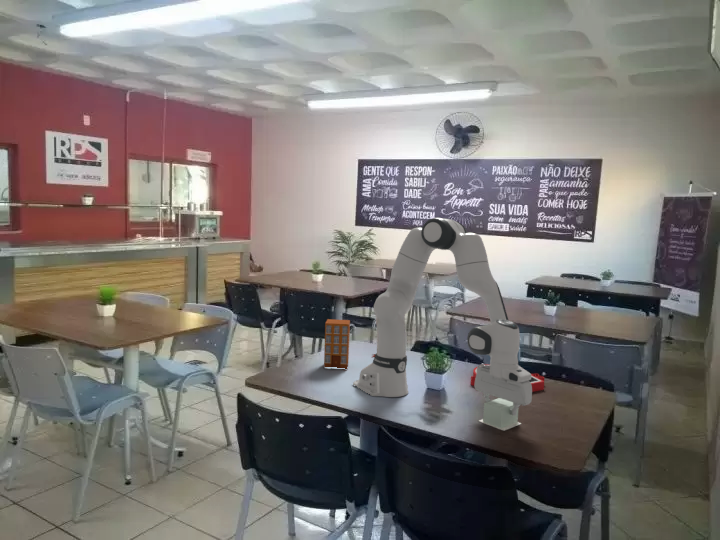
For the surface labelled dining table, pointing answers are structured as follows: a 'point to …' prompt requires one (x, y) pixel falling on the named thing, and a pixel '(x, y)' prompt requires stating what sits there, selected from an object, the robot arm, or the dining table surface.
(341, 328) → the miniature building
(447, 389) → the dining table surface
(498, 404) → the pale green rectangular prism
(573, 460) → the dining table surface
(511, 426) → the mark
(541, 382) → the emblem
